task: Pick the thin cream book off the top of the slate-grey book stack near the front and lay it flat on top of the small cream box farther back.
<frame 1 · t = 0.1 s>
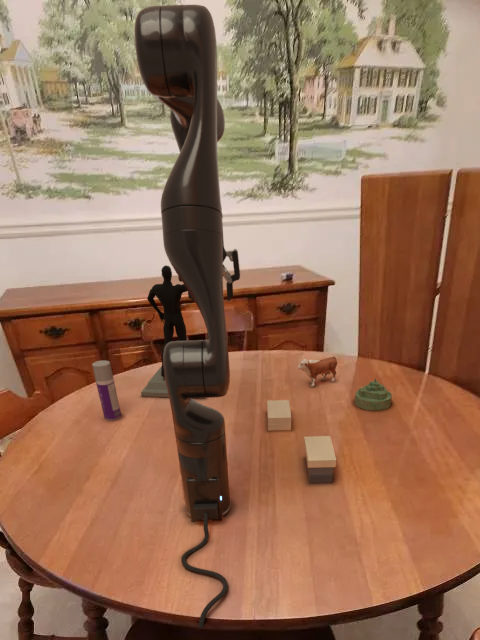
hand: (211, 300, 117), 29 cm above the table, tool pointing down, fingers open, 8 cm apart
container: (113, 418, 136), on the table
cream book: (319, 454, 109), point 4 cm above the table, touching grey stack
decorative artifact: (372, 404, 139), on the table
bull figurine: (317, 383, 152), on the table
small cream box: (278, 421, 132), on the table
statue: (183, 386, 153), on the table
grey stack: (318, 470, 111), on the table, touching cream book
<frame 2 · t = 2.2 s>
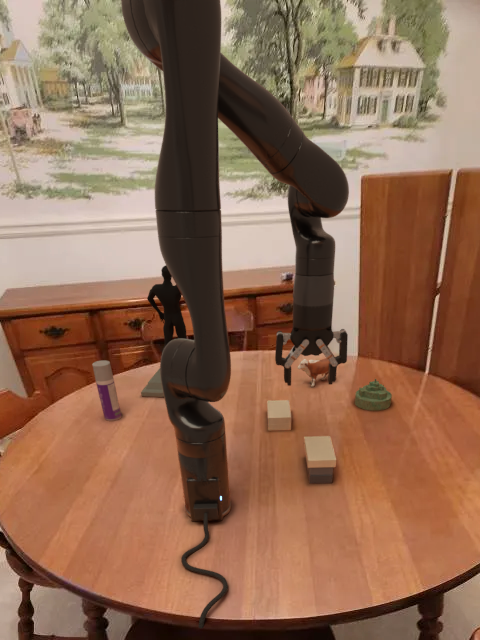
hand: (309, 383, 102), 19 cm above the table, tool pointing down, fingers open, 8 cm apart
nothing on the table moved.
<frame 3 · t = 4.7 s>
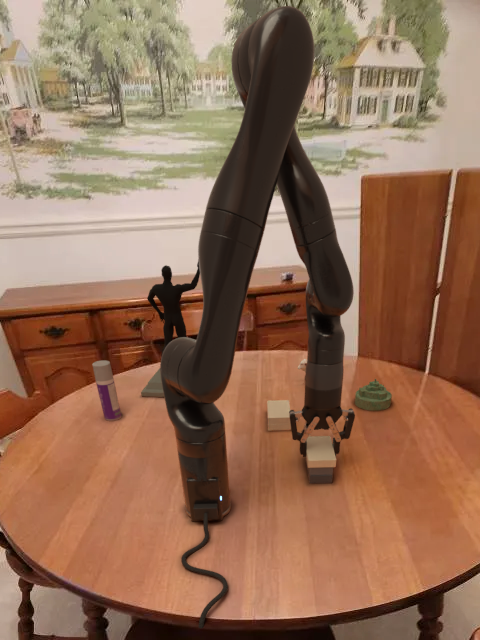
hand: (319, 455, 109), 4 cm above the table, tool pointing down, fingers closed on cream book, 6 cm apart
cream book: (319, 454, 109), point 4 cm above the table, touching grey stack, gripper
everything else where it was.
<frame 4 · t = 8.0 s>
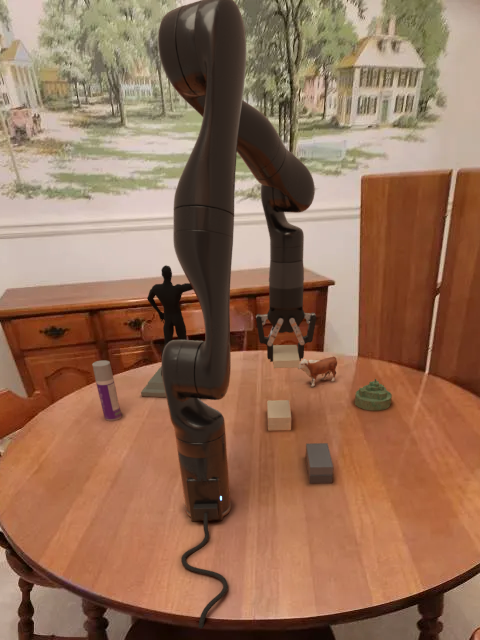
hand: (285, 360, 117), 18 cm above the table, tool pointing down, fingers closed on cream book, 6 cm apart
cream book: (285, 359, 117), point 18 cm above the table, touching gripper
grey stack: (318, 470, 111), on the table
everything else where it was.
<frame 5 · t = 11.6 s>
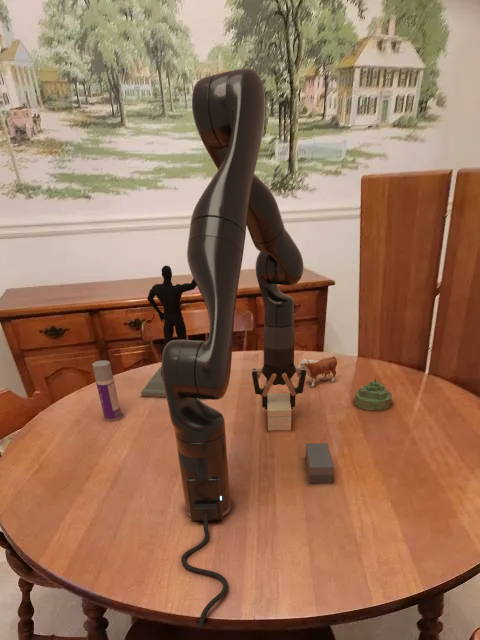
hand: (278, 408, 129), 4 cm above the table, tool pointing down, fingers closed on cream book, 6 cm apart
cream book: (278, 407, 129), point 4 cm above the table, touching gripper
small cream box: (278, 421, 132), on the table, touching gripper
everything else where it was.
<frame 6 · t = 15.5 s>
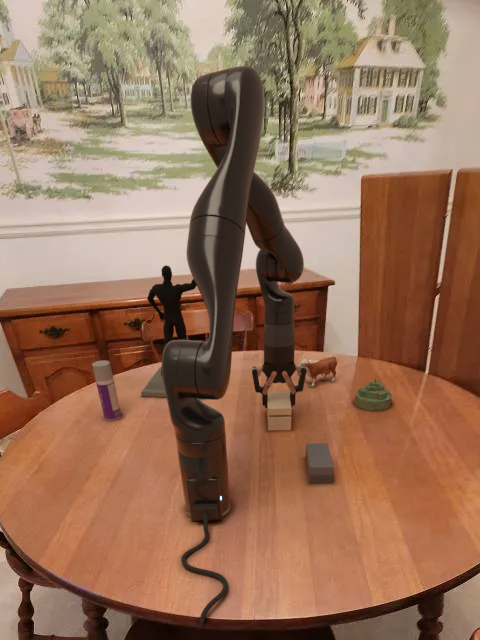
hand: (278, 406, 129), 4 cm above the table, tool pointing down, fingers closed on cream book, 6 cm apart
cream book: (278, 406, 129), point 4 cm above the table, touching gripper
small cream box: (278, 421, 132), on the table
everything else where it was.
when the fingers open (4 cm above the table, at t = 19.2 s): cream book stays where it is, resting on small cream box.
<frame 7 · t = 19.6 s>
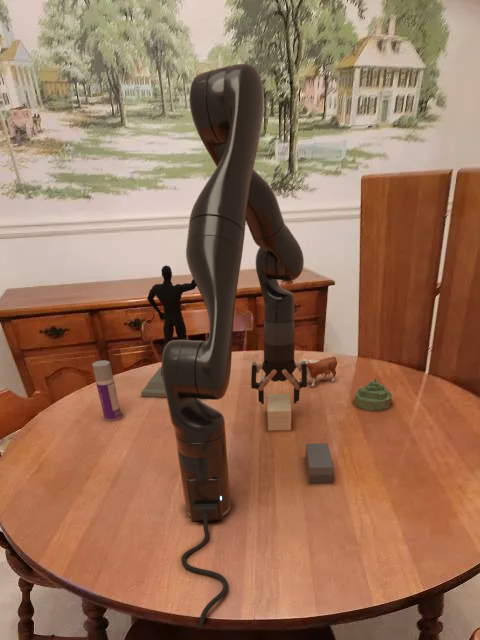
hand: (278, 402, 128), 5 cm above the table, tool pointing down, fingers open, 8 cm apart
cream book: (278, 408, 129), point 4 cm above the table, touching small cream box
small cream box: (278, 421, 132), on the table, touching cream book
everything else where it was.
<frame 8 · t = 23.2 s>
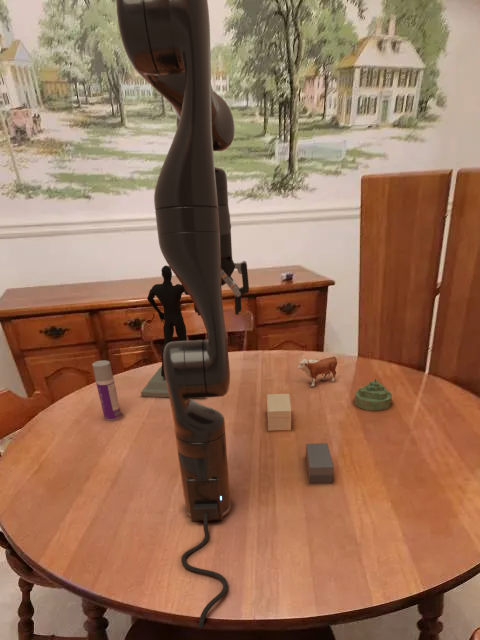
hand: (218, 314, 112), 28 cm above the table, tool pointing down, fingers open, 8 cm apart
nothing on the table moved.
at the end: cream book 0.1 cm off-centre on the small cream box, point 3.6 cm above the small cream box's base; cream book tilted 0°; the gripper is holding nothing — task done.
